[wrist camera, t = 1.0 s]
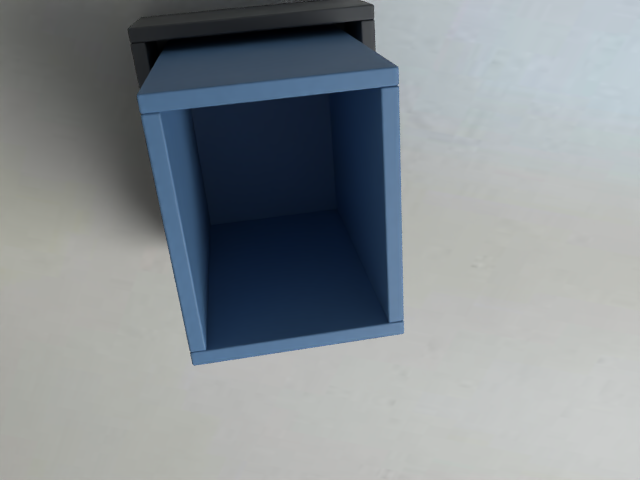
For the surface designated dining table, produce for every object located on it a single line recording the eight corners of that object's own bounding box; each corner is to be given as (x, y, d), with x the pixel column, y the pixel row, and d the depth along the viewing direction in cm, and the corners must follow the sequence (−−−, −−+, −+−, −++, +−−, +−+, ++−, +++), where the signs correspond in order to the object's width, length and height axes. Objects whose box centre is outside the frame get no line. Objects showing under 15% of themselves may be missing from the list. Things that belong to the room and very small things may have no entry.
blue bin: (167, 40, 29) (135, 94, 18) (334, 24, 30) (399, 66, 19) (201, 231, 33) (192, 366, 22) (346, 212, 34) (404, 334, 23)
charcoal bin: (139, 17, 29) (126, 28, 25) (353, -4, 30) (374, 4, 26) (185, 248, 34) (180, 288, 30) (364, 224, 35) (383, 260, 31)
